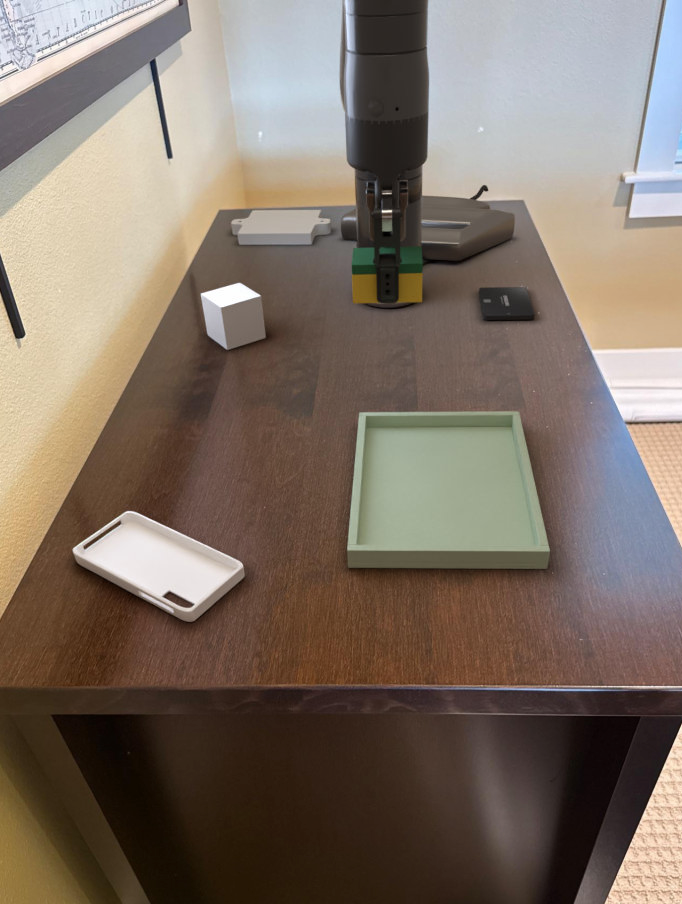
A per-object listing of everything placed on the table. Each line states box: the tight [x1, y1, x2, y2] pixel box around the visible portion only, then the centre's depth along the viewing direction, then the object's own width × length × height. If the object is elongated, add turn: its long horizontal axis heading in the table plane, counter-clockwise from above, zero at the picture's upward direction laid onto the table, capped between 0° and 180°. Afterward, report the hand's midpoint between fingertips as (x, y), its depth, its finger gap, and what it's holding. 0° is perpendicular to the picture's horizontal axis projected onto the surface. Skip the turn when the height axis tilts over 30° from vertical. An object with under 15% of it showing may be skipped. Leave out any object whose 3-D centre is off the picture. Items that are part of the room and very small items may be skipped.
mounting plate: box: [230, 209, 332, 246], centre depth 140 cm, size 18×13×2 cm
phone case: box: [72, 510, 246, 623], centre depth 70 cm, size 7×1×15 cm
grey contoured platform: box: [340, 194, 516, 262], centre depth 133 cm, size 28×5×28 cm
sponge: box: [351, 246, 424, 304], centre depth 79 cm, size 5×7×4 cm, turn 88°
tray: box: [346, 410, 551, 570], centre depth 77 cm, size 24×18×2 cm
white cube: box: [200, 282, 267, 351], centre depth 105 cm, size 6×6×6 cm
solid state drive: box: [478, 286, 536, 321], centre depth 111 cm, size 7×10×1 cm
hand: (387, 290), depth 80 cm, fingers closed on sponge, 4 cm apart
